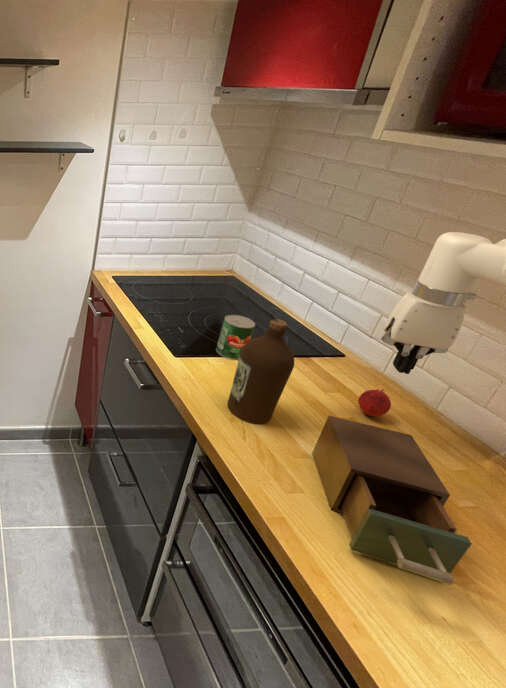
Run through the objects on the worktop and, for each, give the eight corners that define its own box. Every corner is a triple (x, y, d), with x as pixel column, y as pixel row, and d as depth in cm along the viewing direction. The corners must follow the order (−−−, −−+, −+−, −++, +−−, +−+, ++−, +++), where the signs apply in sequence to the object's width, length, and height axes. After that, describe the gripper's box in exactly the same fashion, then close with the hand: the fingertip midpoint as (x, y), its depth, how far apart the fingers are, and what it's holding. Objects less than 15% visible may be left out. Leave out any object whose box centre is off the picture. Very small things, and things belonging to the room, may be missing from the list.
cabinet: (422, 537, 79) (450, 495, 75) (330, 510, 84) (351, 468, 80) (389, 474, 92) (411, 435, 88) (311, 453, 97) (328, 415, 93)
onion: (385, 426, 105) (399, 399, 102) (355, 417, 108) (368, 390, 105) (381, 412, 110) (394, 386, 106) (352, 404, 112) (364, 378, 109)
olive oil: (265, 401, 113) (297, 314, 103) (280, 430, 103) (316, 337, 93) (220, 394, 115) (246, 308, 105) (229, 421, 106) (259, 329, 96)
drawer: (464, 616, 66) (493, 578, 63) (362, 581, 71) (384, 544, 67) (408, 509, 83) (429, 474, 80) (328, 486, 88) (344, 452, 84)
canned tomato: (229, 344, 138) (238, 312, 134) (251, 357, 132) (262, 325, 127) (209, 348, 136) (218, 316, 131) (231, 362, 129) (241, 329, 124)
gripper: (476, 293, 90) (435, 369, 98) (385, 281, 95) (353, 353, 103) (499, 308, 84) (454, 388, 91) (400, 294, 89) (365, 371, 96)
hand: (400, 369), depth 97 cm, fingers closed
